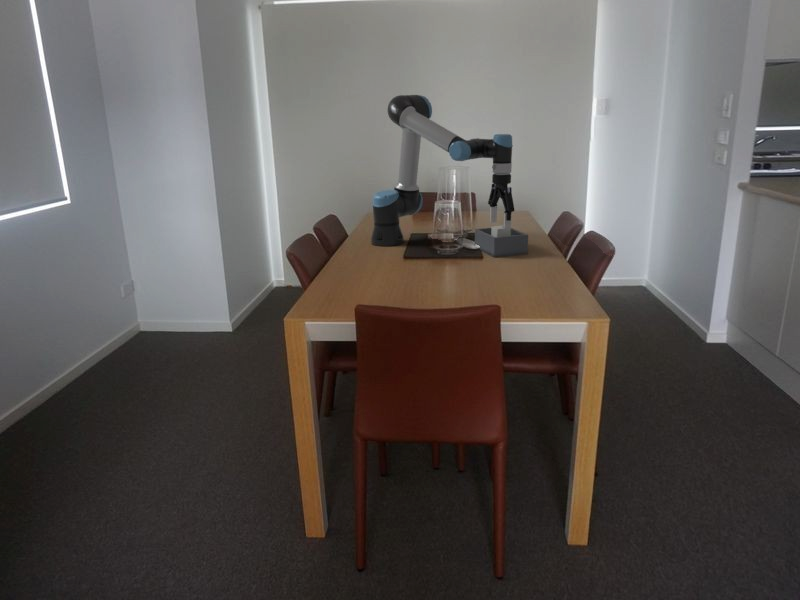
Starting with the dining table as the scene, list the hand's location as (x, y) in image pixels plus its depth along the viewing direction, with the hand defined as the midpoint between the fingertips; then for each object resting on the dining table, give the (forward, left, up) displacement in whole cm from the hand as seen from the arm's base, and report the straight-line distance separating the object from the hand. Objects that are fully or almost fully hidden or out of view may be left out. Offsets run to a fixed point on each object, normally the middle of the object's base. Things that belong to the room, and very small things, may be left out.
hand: (500, 225), depth 250 cm
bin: (0, 0, -11) cm, 11 cm away
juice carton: (+1, 0, -10) cm, 10 cm away
